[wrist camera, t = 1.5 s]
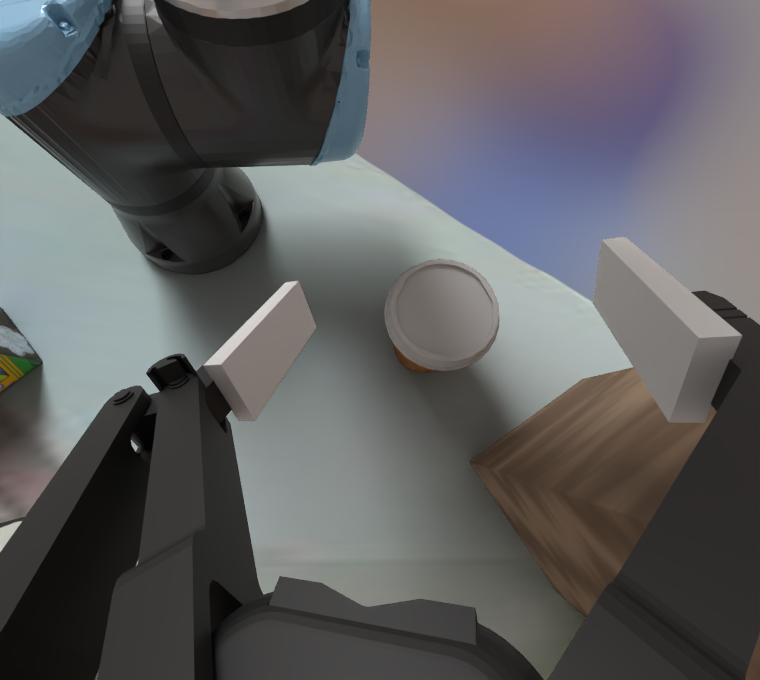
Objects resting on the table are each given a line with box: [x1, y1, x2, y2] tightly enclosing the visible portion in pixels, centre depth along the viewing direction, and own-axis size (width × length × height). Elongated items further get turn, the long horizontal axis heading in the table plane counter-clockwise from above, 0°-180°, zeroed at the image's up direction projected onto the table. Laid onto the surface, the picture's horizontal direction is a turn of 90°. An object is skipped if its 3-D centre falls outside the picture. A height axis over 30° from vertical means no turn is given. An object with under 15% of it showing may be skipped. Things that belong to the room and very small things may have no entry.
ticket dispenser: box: [470, 367, 760, 680], centre depth 19 cm, size 14×17×32 cm
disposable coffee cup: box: [384, 259, 499, 372], centre depth 32 cm, size 10×10×12 cm
